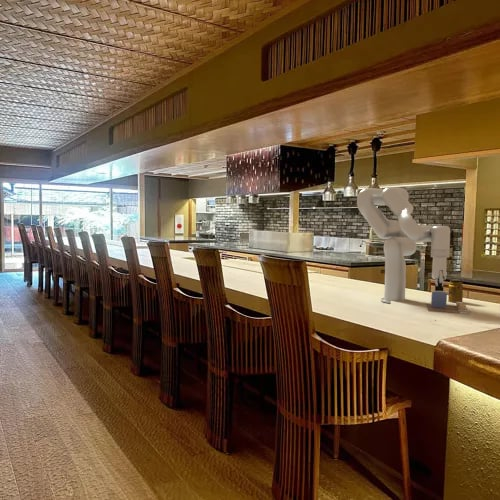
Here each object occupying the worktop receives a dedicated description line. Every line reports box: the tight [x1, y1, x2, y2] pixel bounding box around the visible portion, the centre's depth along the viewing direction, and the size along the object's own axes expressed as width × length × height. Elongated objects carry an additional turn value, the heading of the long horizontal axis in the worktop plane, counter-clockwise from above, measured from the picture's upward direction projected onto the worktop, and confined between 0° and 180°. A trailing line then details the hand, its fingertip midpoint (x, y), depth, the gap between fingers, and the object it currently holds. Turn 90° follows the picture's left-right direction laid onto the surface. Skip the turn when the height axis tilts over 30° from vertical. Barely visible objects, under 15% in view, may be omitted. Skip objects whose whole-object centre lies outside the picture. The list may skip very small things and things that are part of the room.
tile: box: [430, 290, 448, 308], centre depth 190 cm, size 2×6×7 cm, turn 73°
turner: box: [455, 301, 472, 315], centre depth 185 cm, size 17×4×2 cm, turn 163°
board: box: [424, 303, 468, 315], centre depth 187 cm, size 18×16×2 cm
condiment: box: [447, 278, 464, 304], centre depth 204 cm, size 7×8×12 cm
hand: (439, 295), depth 192 cm, fingers closed
